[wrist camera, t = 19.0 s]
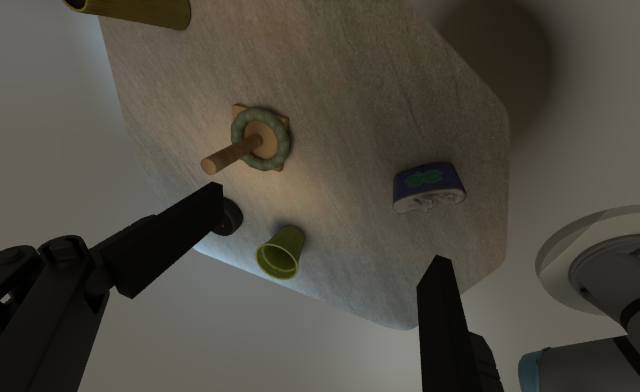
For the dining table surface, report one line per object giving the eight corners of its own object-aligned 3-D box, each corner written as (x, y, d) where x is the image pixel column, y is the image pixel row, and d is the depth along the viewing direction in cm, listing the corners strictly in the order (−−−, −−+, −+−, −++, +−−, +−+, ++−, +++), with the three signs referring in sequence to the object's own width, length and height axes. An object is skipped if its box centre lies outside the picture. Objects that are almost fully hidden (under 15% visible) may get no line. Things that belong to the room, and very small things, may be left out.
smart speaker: (237, 233, 59) (228, 243, 55) (207, 214, 58) (196, 223, 55) (248, 210, 54) (238, 220, 50) (215, 189, 53) (203, 197, 50)
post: (289, 117, 40) (241, 141, 28) (283, 169, 45) (241, 207, 33) (237, 103, 42) (170, 120, 30) (237, 154, 47) (181, 187, 35)
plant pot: (271, 242, 57) (252, 268, 49) (276, 212, 51) (256, 237, 44) (307, 257, 55) (293, 286, 48) (316, 228, 50) (302, 256, 43)
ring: (294, 116, 38) (289, 119, 36) (287, 175, 44) (282, 179, 42) (235, 99, 40) (227, 101, 38) (235, 158, 46) (229, 162, 44)
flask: (395, 187, 41) (394, 222, 32) (391, 172, 40) (388, 204, 31) (455, 173, 37) (473, 209, 28) (452, 156, 36) (469, 188, 27)
